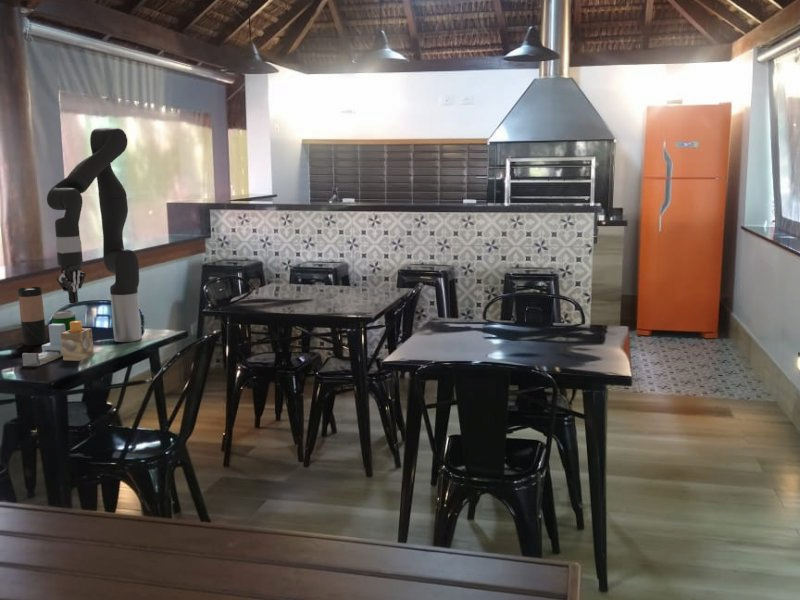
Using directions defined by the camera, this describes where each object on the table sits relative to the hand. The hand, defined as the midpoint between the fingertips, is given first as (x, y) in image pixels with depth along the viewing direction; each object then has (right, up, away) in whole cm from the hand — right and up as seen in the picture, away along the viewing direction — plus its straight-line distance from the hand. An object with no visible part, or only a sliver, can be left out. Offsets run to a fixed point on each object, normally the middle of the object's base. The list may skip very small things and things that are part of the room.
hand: (73, 303), depth 247 cm
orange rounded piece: (0, -11, +2) cm, 11 cm away
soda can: (-12, -15, +21) cm, 29 cm away
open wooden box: (0, -18, +3) cm, 18 cm away
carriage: (-8, -17, +8) cm, 21 cm away
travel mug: (-24, -15, +24) cm, 38 cm away
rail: (-9, -18, +4) cm, 20 cm away
